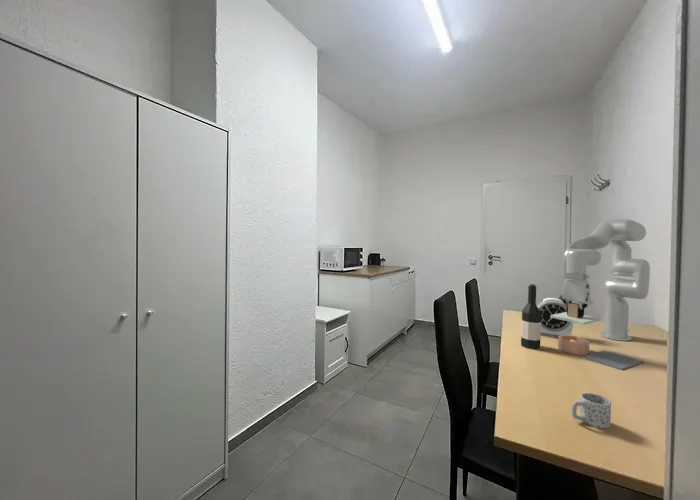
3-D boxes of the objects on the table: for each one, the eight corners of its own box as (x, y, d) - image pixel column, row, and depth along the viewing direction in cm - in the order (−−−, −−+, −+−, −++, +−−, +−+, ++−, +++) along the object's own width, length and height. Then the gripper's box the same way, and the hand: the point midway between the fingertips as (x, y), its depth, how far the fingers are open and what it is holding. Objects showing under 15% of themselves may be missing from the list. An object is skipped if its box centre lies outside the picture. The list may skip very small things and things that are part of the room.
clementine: (570, 346, 147) (571, 338, 147) (580, 349, 143) (580, 340, 143) (565, 347, 145) (566, 339, 145) (575, 350, 141) (575, 341, 141)
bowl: (566, 344, 152) (567, 333, 152) (594, 352, 142) (594, 340, 141) (552, 348, 147) (553, 336, 147) (579, 356, 136) (580, 344, 136)
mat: (604, 351, 143) (604, 350, 143) (643, 362, 131) (643, 361, 131) (582, 357, 135) (582, 356, 135) (621, 370, 123) (621, 368, 123)
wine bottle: (544, 349, 145) (546, 285, 144) (526, 349, 145) (528, 285, 144) (534, 343, 153) (536, 283, 152) (517, 343, 153) (519, 283, 152)
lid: (567, 313, 153) (567, 299, 153) (600, 320, 141) (601, 305, 140) (550, 317, 147) (550, 302, 147) (583, 324, 135) (583, 308, 134)
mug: (596, 415, 91) (597, 392, 90) (616, 429, 84) (617, 405, 84) (563, 415, 90) (564, 392, 90) (580, 429, 84) (581, 405, 83)
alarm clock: (532, 335, 167) (534, 298, 166) (531, 331, 174) (533, 295, 174) (573, 340, 159) (574, 301, 158) (570, 336, 166) (572, 298, 165)
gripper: (601, 278, 137) (600, 319, 138) (561, 274, 152) (560, 311, 153) (592, 279, 134) (591, 321, 135) (552, 275, 149) (551, 312, 150)
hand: (575, 315), depth 144 cm, fingers closed on lid, 4 cm apart
